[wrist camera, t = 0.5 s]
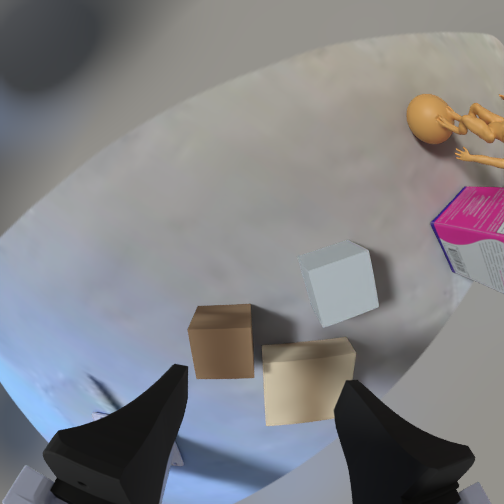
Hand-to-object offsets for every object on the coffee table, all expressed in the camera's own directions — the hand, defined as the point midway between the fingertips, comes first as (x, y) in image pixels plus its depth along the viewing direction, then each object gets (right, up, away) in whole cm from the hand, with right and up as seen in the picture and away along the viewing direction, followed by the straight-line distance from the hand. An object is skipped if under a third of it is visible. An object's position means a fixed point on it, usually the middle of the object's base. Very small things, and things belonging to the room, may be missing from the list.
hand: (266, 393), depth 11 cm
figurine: (+13, +16, +7) cm, 22 cm away
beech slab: (+4, -4, +11) cm, 13 cm away
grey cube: (+5, +5, +9) cm, 12 cm away
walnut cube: (-3, 0, +10) cm, 10 cm away
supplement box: (+18, +8, +9) cm, 22 cm away
